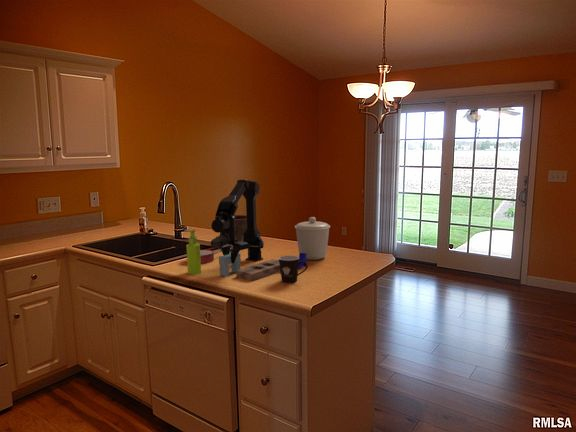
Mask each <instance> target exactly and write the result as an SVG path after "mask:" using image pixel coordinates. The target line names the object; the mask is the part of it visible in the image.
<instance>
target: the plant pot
mask: <svg viewBox="0 0 576 432" xmlns="http://www.w3.org/2000/svg"><path fill="white" fill-rule="evenodd" d="M235 215H236V217H235V230H237V233H235V237H236V239H238V242H239V241H242V242H243V238H244V236H243V234H244V232H245V231H246V229H247V215H246V214H235ZM235 243H236V242H235Z"/></svg>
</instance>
